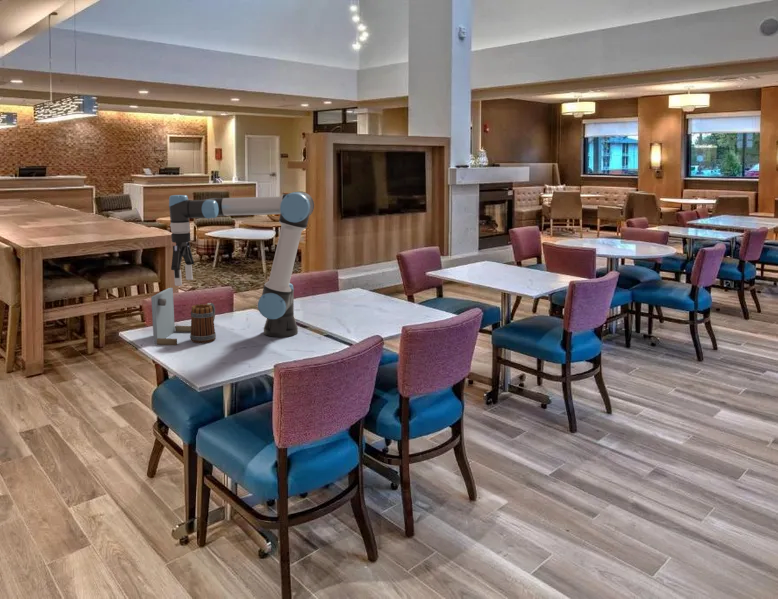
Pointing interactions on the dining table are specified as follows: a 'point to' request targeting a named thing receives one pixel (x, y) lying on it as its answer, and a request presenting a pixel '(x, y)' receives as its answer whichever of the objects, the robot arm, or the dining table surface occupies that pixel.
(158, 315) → the door
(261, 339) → the dining table surface
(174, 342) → the tan support feet
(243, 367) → the dining table surface
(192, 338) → the mug
